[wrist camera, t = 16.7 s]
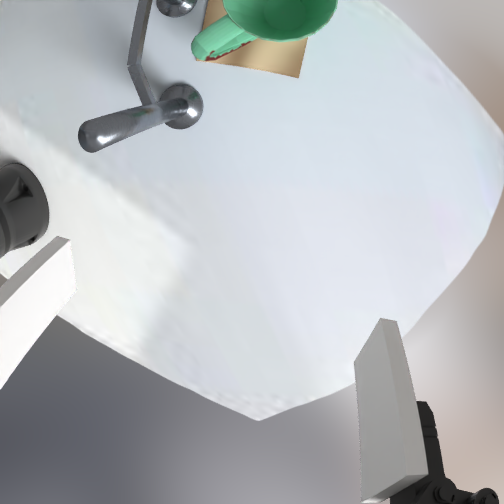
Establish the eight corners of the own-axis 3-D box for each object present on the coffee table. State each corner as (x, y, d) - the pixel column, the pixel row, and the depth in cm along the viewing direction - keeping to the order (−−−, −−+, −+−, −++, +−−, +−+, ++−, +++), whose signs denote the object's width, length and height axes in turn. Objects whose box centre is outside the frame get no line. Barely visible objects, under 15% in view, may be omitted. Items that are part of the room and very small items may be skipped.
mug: (293, -37, 25) (290, -71, 16) (346, 25, 28) (362, 6, 19) (191, 31, 31) (156, 19, 22) (241, 91, 34) (221, 95, 25)
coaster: (196, 60, 33) (196, 60, 32) (216, -28, 26) (215, -28, 26) (298, 78, 32) (298, 78, 32) (319, -13, 26) (319, -14, 26)
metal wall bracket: (139, 122, 37) (39, 164, 21) (163, -18, 27) (69, -62, 11) (199, 131, 37) (121, 179, 21) (228, -16, 27) (166, -81, 11)
